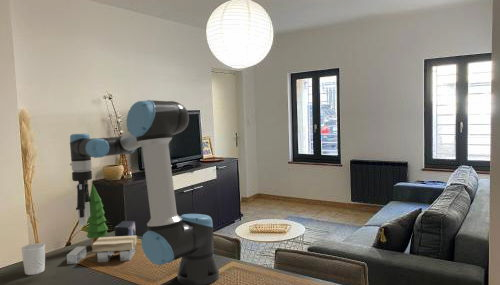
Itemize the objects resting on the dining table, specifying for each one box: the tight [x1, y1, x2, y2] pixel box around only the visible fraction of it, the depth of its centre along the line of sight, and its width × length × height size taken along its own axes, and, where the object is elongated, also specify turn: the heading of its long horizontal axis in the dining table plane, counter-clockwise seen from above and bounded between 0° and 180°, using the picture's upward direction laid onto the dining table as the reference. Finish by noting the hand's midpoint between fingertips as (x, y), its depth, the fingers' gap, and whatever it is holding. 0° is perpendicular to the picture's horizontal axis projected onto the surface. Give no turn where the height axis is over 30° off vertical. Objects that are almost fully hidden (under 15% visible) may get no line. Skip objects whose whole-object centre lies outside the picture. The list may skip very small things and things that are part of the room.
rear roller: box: [119, 245, 136, 262], centre depth 161 cm, size 10×4×4 cm, turn 5°
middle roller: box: [96, 251, 115, 263], centre depth 160 cm, size 10×4×4 cm, turn 5°
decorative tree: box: [86, 182, 109, 249], centre depth 175 cm, size 10×9×30 cm
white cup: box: [21, 242, 46, 276], centre depth 147 cm, size 8×8×10 cm
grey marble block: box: [66, 245, 87, 265], centre depth 159 cm, size 10×4×4 cm, turn 3°
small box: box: [114, 220, 136, 237], centre depth 174 cm, size 11×6×10 cm, turn 179°
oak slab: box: [91, 234, 138, 253], centre depth 160 cm, size 10×16×3 cm, turn 95°
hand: (84, 221), depth 158 cm, fingers open, 13 cm apart
